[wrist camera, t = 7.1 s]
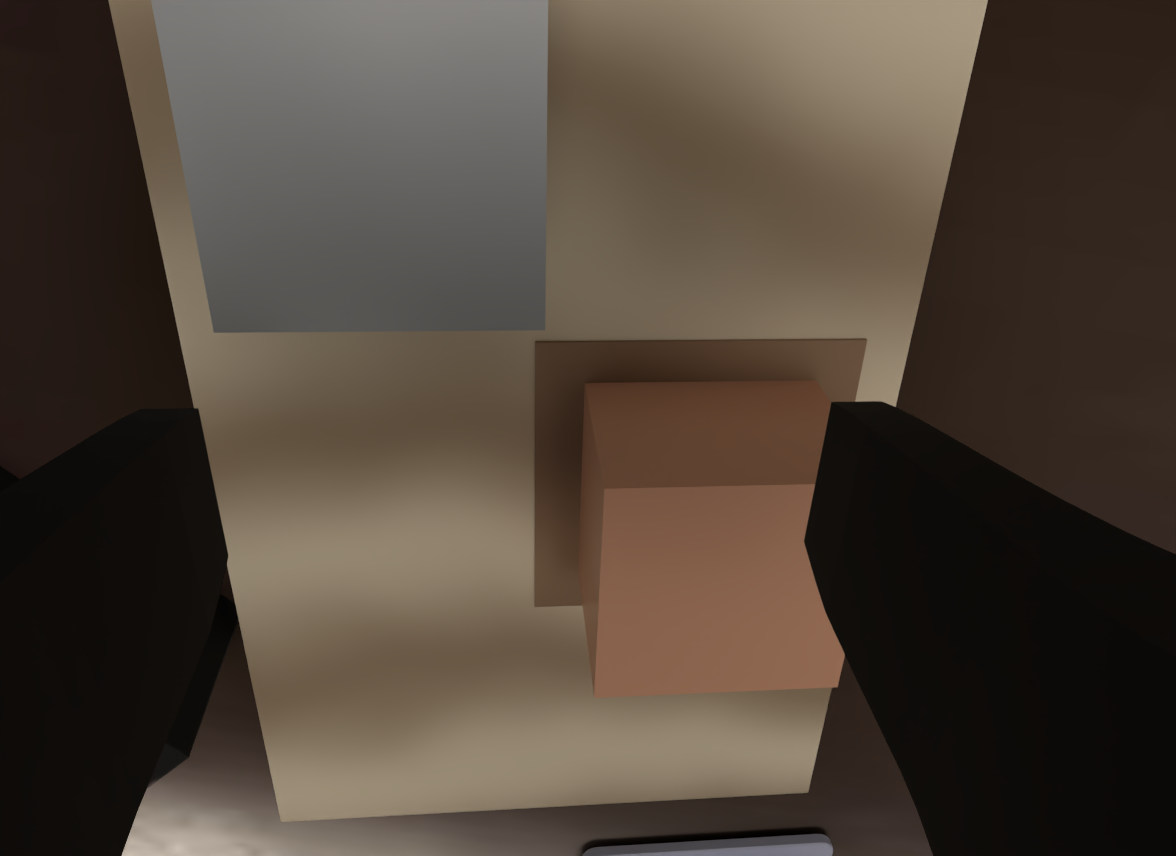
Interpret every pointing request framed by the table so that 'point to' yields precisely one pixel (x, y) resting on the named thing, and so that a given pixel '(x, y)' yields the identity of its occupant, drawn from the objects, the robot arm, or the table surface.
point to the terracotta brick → (702, 538)
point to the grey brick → (363, 160)
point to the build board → (561, 400)
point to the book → (200, 683)
